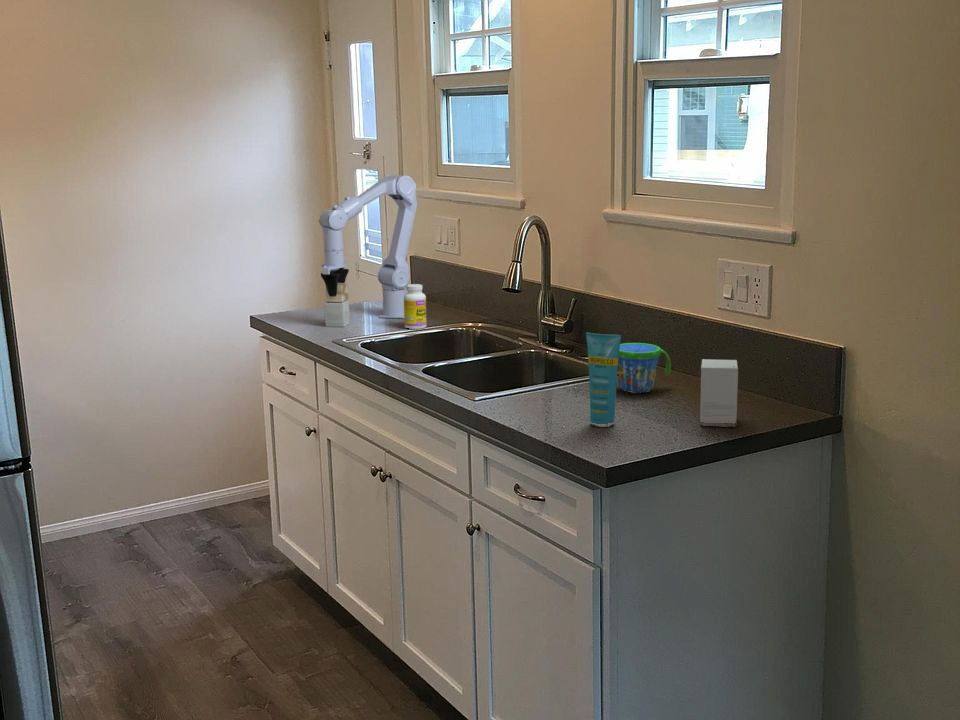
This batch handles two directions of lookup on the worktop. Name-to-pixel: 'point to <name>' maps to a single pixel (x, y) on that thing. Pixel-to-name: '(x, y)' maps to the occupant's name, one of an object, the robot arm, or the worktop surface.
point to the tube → (603, 376)
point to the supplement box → (719, 391)
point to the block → (338, 294)
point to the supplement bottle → (415, 307)
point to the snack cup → (639, 366)
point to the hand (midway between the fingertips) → (336, 294)
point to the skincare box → (337, 314)
